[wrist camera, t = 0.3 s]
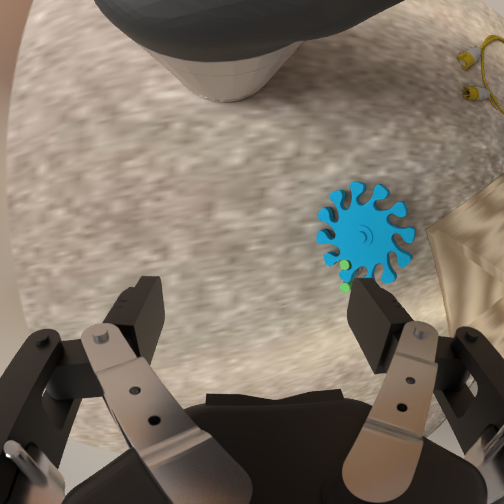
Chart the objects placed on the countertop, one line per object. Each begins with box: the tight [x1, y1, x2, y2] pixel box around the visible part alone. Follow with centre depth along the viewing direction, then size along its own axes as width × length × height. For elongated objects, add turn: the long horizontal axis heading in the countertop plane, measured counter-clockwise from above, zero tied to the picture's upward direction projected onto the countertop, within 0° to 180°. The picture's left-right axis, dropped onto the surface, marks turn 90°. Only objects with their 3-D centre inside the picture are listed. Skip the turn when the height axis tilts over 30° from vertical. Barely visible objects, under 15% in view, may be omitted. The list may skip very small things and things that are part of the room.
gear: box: [317, 182, 416, 293], centre depth 29 cm, size 11×6×10 cm
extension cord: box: [457, 35, 504, 114], centre depth 23 cm, size 12×16×2 cm
